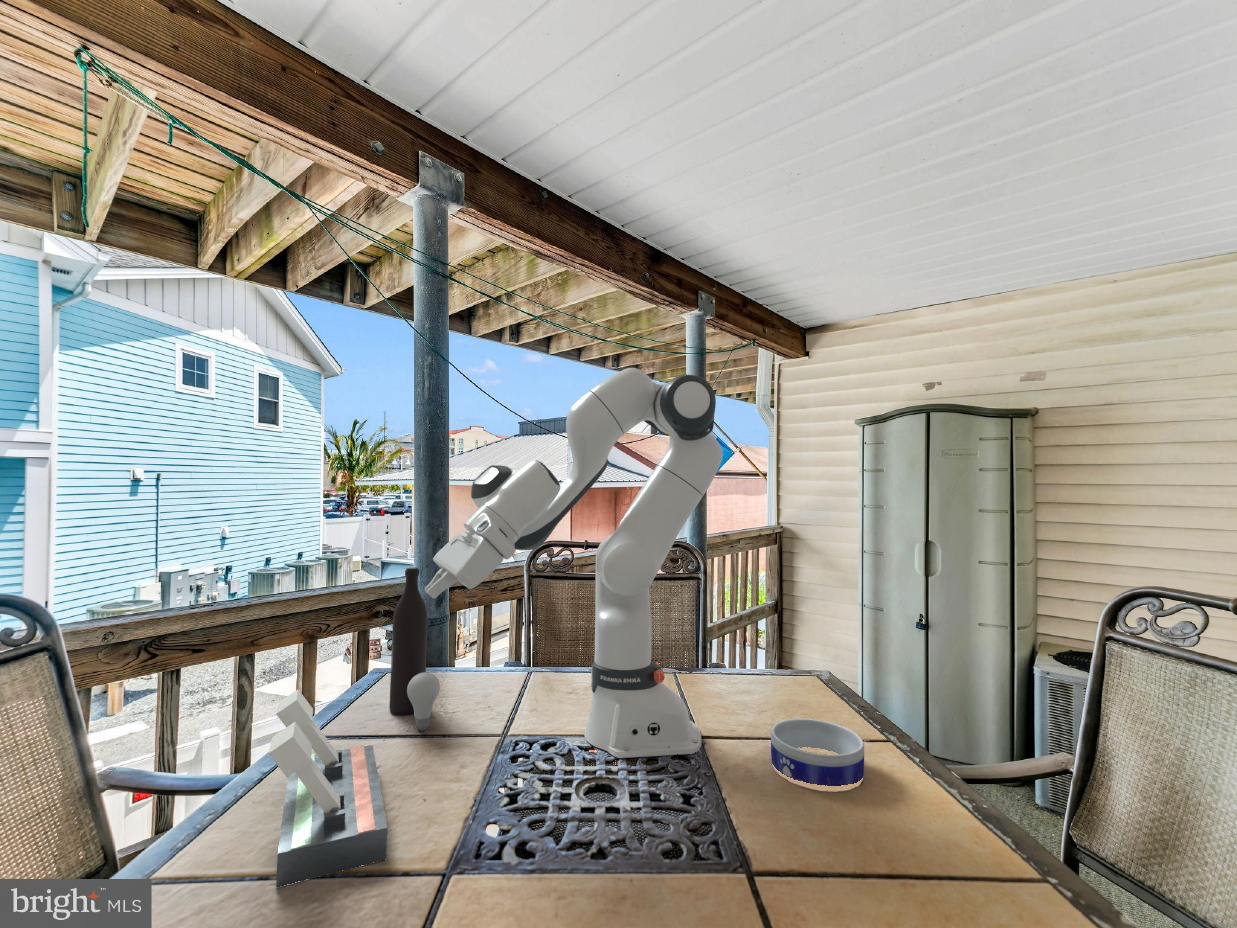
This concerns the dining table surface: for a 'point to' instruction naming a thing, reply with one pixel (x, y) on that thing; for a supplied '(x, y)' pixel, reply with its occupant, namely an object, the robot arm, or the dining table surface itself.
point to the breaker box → (333, 821)
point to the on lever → (303, 766)
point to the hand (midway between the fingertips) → (428, 594)
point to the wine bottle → (407, 643)
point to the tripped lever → (306, 725)
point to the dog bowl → (815, 765)
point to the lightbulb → (423, 697)
